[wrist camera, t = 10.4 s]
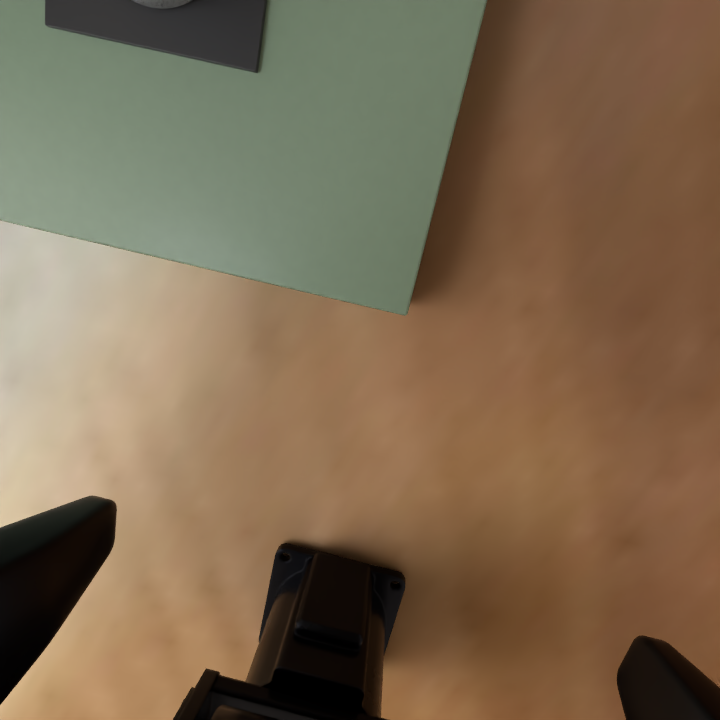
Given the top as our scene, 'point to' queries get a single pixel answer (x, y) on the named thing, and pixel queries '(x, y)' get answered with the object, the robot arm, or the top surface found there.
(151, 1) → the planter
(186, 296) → the top surface
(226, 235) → the green lipped platform
